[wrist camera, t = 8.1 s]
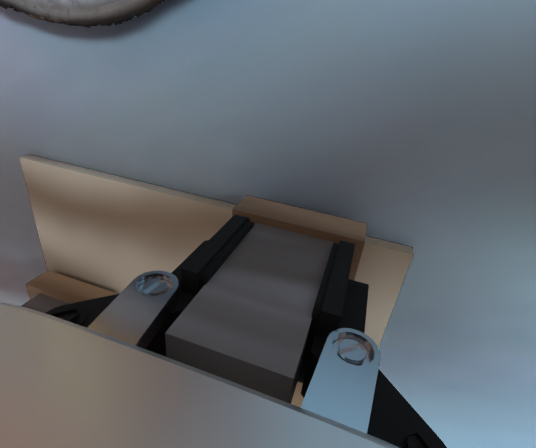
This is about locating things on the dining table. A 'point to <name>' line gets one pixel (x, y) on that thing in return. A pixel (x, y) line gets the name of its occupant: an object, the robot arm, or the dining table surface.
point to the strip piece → (59, 291)
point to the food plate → (82, 10)
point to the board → (159, 232)
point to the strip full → (263, 299)
